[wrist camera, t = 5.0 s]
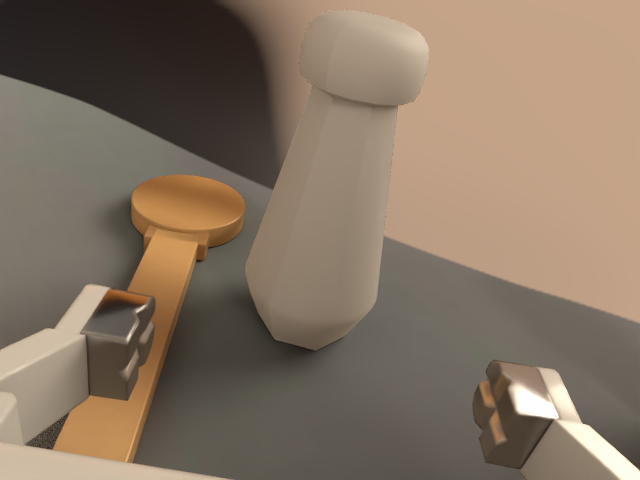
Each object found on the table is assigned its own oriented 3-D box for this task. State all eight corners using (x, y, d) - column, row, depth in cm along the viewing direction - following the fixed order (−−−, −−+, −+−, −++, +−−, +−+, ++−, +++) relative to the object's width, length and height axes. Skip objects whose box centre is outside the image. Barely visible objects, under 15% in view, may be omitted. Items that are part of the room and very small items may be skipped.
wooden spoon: (165, 610, 13) (167, 588, 13) (-89, 594, 12) (-100, 569, 12) (247, 201, 32) (249, 184, 31) (147, 185, 31) (147, 167, 30)
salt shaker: (231, 278, 25) (270, -14, 18) (341, 277, 27) (413, 12, 20) (252, 369, 21) (314, 25, 14) (383, 360, 22) (493, 53, 16)
